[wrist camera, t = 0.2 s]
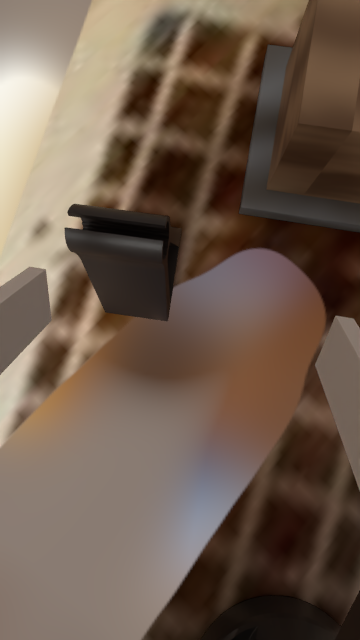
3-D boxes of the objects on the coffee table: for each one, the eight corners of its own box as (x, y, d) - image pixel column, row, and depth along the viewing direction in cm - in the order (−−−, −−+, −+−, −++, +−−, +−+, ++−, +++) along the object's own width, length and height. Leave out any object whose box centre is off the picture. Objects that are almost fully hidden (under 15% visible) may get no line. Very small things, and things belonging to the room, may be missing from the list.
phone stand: (167, 322, 31) (152, 308, 19) (106, 312, 31) (52, 293, 19) (182, 230, 31) (176, 160, 19) (121, 221, 32) (78, 147, 20)
